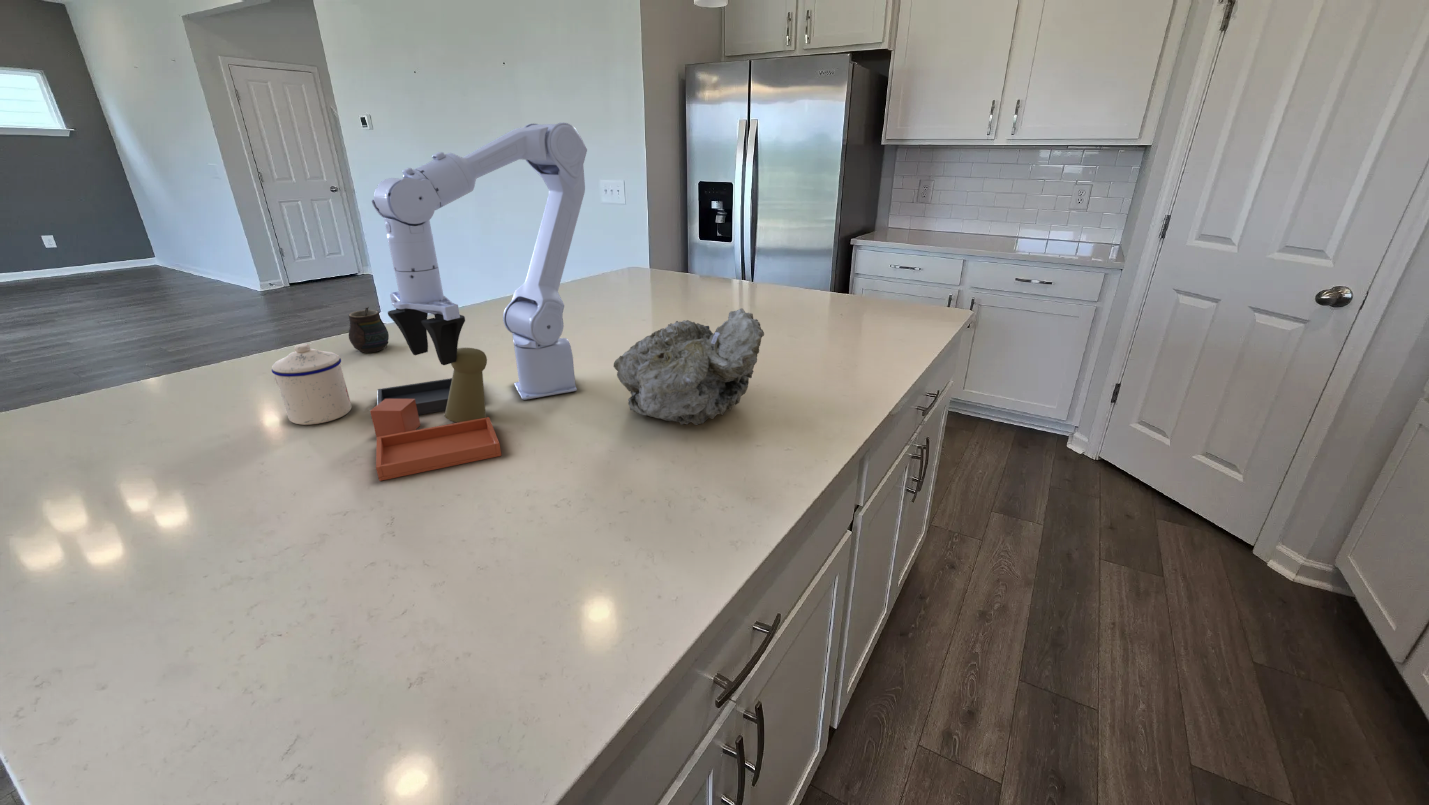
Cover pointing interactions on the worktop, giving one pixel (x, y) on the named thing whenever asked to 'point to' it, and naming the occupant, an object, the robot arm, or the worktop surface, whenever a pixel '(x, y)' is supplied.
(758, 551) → the worktop surface
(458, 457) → the terracotta tray
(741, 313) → the rock
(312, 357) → the lidded enamel canister
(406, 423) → the terracotta block
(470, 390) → the cork
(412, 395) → the charcoal tray
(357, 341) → the mate gourd
